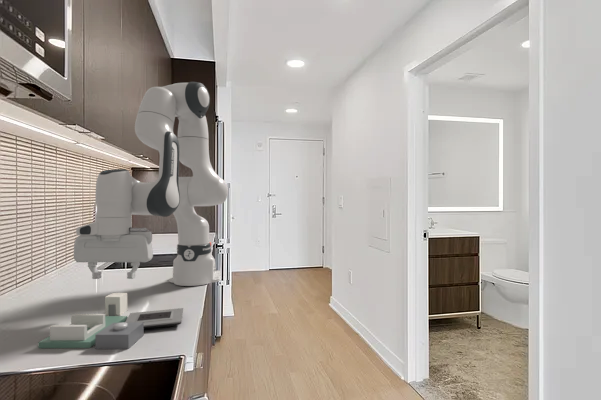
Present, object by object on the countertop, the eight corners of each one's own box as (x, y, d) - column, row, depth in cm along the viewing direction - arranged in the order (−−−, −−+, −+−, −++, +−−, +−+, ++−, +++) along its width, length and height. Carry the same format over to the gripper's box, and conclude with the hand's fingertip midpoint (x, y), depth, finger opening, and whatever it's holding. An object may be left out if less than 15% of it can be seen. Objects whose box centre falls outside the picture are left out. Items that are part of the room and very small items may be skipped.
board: (85, 320, 91) (84, 304, 91) (127, 320, 91) (127, 304, 91) (38, 348, 75) (38, 328, 75) (89, 347, 75) (89, 328, 75)
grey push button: (113, 335, 81) (113, 319, 81) (143, 335, 81) (143, 319, 81) (95, 348, 74) (95, 331, 74) (128, 348, 74) (128, 330, 74)
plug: (113, 310, 99) (113, 292, 99) (127, 310, 99) (127, 292, 99) (104, 316, 94) (103, 297, 94) (119, 316, 94) (118, 297, 94)
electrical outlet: (122, 336, 82) (121, 326, 82) (130, 320, 92) (130, 311, 92) (181, 329, 85) (181, 320, 85) (183, 315, 96) (183, 306, 96)
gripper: (156, 226, 99) (156, 276, 99) (84, 227, 99) (84, 276, 99) (146, 228, 93) (146, 280, 93) (69, 228, 93) (69, 281, 93)
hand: (114, 278), depth 96 cm, fingers open, 8 cm apart
